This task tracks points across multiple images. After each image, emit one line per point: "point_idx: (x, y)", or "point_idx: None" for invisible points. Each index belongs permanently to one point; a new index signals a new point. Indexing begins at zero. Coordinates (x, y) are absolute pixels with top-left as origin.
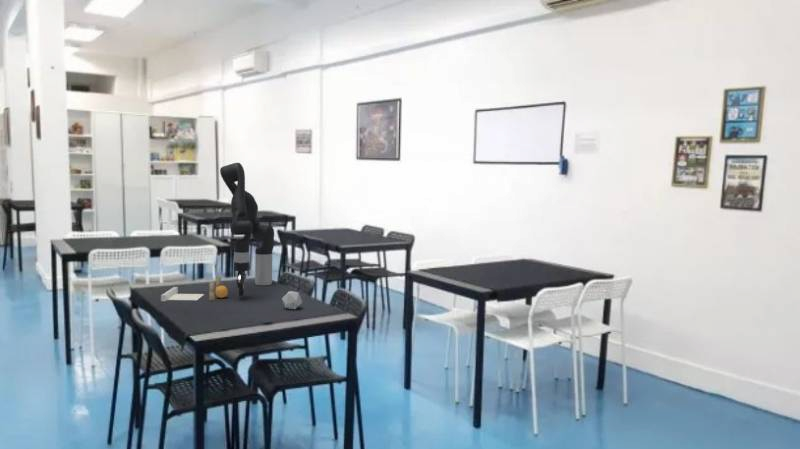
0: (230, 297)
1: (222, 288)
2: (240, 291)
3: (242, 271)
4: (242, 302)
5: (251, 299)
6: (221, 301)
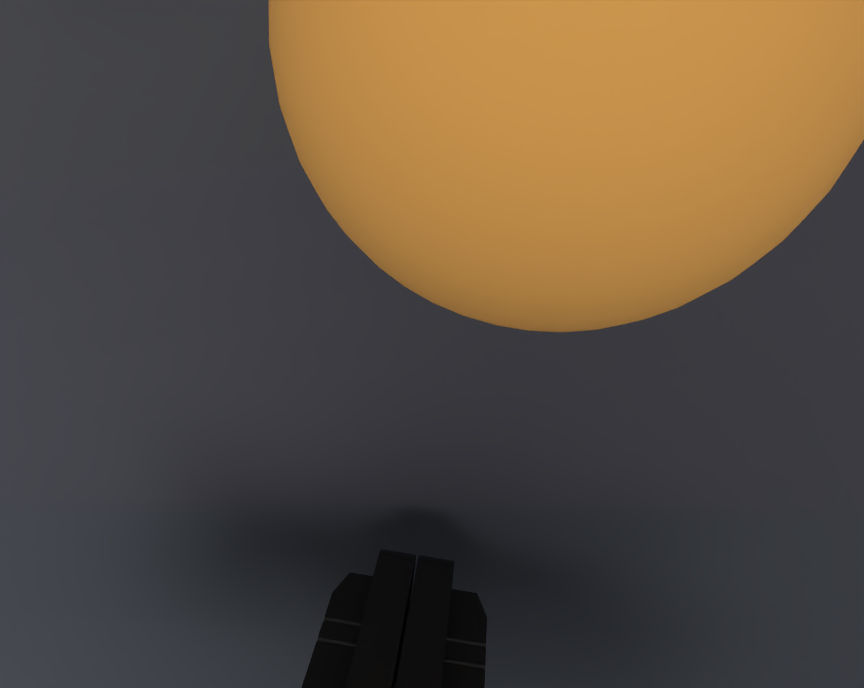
0: None
1: (320, 128)
2: (311, 669)
3: None
4: (63, 540)
5: None
6: (49, 109)
